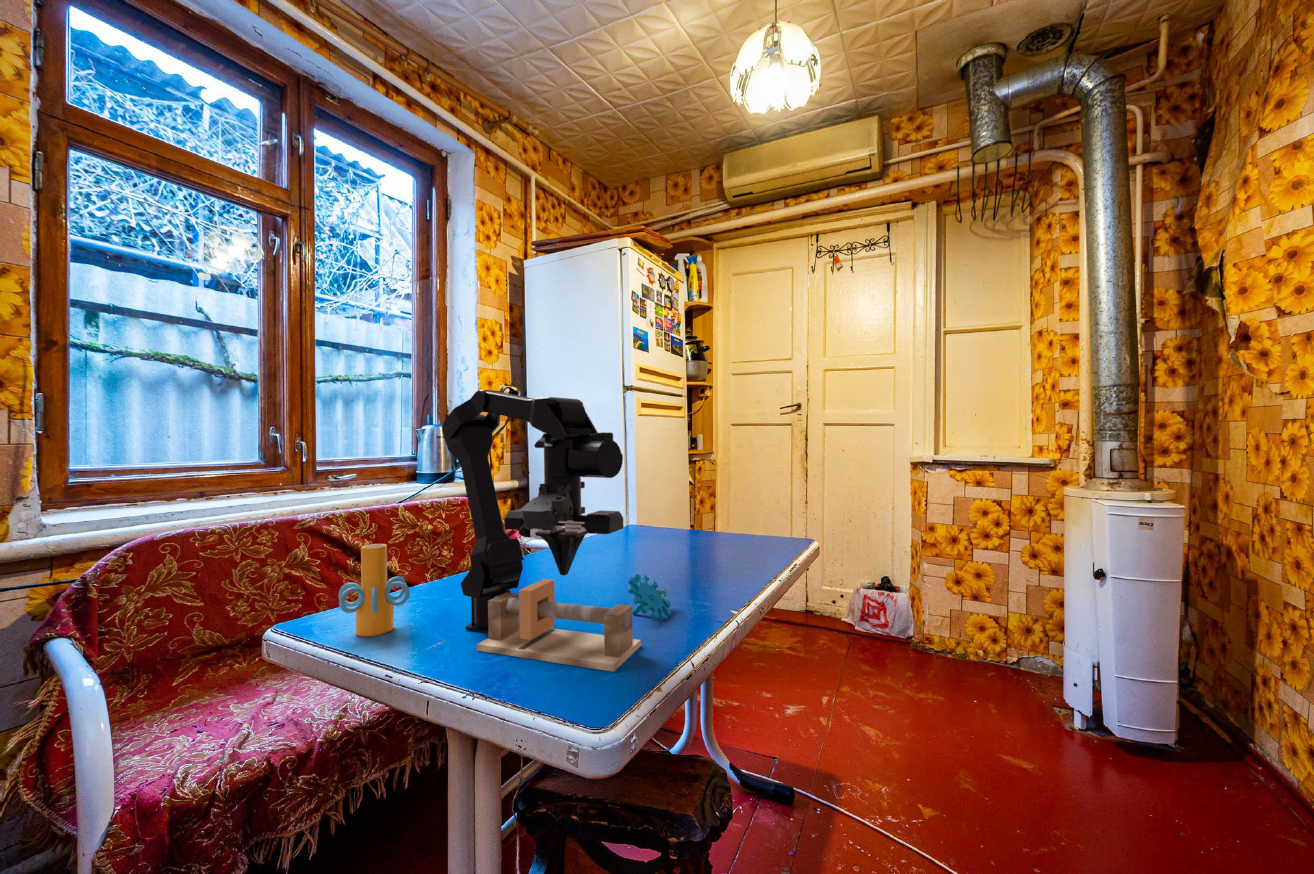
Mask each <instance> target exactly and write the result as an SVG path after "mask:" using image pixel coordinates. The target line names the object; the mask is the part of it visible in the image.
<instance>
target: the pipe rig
mask: <svg viewBox="0 0 1314 874" xmlns="http://www.w3.org/2000/svg"><path fill="white" fill-rule="evenodd" d="M537 610H538V617H540V616H541V617H549V618H555V619H559V620H567V621H574V622H582V623H583V622H585V623H592V624H599V625H603V629H604V630H603V631H604V632H603V634H599V633H591V632H582V631H573V630H567V629H561V628H560V629H559V628H553V627H551V628H550V629H548V630H546V631H545V632H543V633H542V634H540V635H538V636H537V637H535V638H534V639H532V640H527V639H520V593H515V592H511V593H508V592H507V593H504V594H502V595H500V596H496V597H495V598H493V599H491V600H489V601H488V632H487V634H488V636H487V637H488V638H485V639H484V640H482V641H480V642H478V643H476V651H478V652H479V651H480V652H484V653H490V654H491V653H492V654H496V655H503V656H511V657H517V658H522V659H530V660H535V661H543V662H548V663H553V664H554V663H556V664H562V665H569V666H573V667H574V666H575V667H581V668H588V669H594V670H601V671H605V672H606V671H607V672H616V670H618V669H619V667H621V666H622V665H623V664H624V663H625V662H626V661H627V660H628V659H630V657H631V656H632V655H633V654H634V653H636V651H638V650H639V649H640V647H641V646H642V643H641V639H636V638H633V636H634V635H633V614H632V610H633V605H631V604H630V605H629V604H628V605H627V604H620V603H618V604H616V605H615V606H614V607H612V608H611V607H610V608H609V607H601V606H592V605H582V604H575V603H565V602H556V601H555V602H548V601H542V600H540V601H538V602H537Z"/></svg>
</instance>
